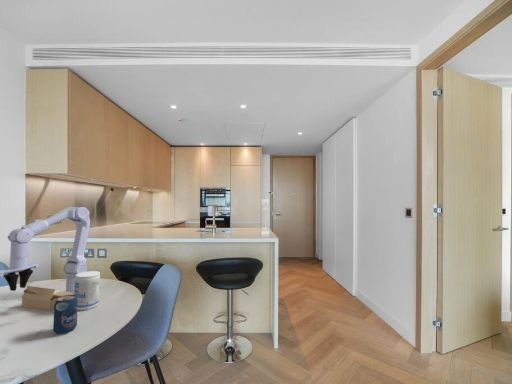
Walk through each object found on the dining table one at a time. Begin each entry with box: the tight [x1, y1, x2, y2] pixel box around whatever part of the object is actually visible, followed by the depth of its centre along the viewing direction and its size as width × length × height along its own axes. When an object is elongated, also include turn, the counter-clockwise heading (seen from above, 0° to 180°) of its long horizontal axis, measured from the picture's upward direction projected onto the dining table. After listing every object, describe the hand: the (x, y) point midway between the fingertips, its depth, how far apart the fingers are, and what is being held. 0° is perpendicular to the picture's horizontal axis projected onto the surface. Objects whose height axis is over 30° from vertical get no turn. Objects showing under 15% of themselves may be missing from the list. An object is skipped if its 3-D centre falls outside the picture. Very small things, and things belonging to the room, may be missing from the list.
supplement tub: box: [74, 270, 101, 311], centre depth 115 cm, size 10×10×15 cm
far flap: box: [21, 285, 56, 301], centre depth 111 cm, size 5×16×5 cm
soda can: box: [52, 295, 78, 336], centre depth 93 cm, size 7×7×12 cm
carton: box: [21, 290, 72, 311], centre depth 117 cm, size 10×16×4 cm, turn 76°
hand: (18, 289), depth 109 cm, fingers open, 3 cm apart
